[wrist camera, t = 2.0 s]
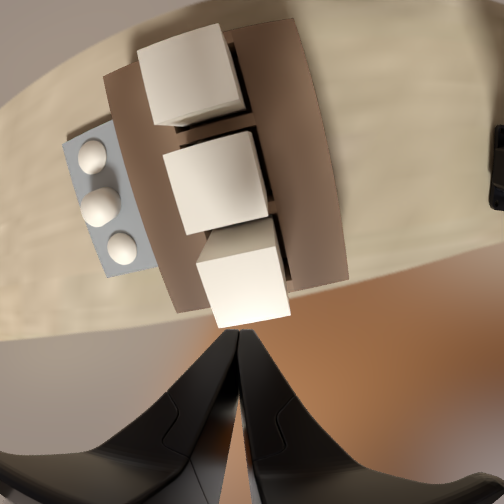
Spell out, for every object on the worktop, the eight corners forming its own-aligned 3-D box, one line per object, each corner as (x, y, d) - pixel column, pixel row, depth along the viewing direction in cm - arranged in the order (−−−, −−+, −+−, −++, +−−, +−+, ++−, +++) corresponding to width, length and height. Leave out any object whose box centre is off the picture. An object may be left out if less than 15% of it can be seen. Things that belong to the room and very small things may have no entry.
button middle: (252, 132, 15) (247, 131, 10) (266, 191, 16) (268, 216, 11) (192, 148, 15) (162, 155, 10) (208, 205, 16) (186, 235, 12)
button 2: (271, 213, 16) (275, 246, 12) (284, 266, 17) (290, 315, 13) (214, 226, 17) (195, 263, 12) (229, 277, 18) (218, 328, 13)
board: (287, 38, 14) (293, 18, 11) (335, 255, 19) (349, 279, 16) (129, 84, 16) (102, 76, 12) (189, 285, 21) (176, 313, 17)
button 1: (231, 55, 13) (218, 22, 8) (246, 110, 14) (239, 99, 10) (172, 72, 14) (136, 50, 9) (186, 127, 15) (154, 124, 10)
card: (118, 119, 16) (101, 118, 14) (162, 262, 20) (152, 276, 18) (66, 143, 17) (48, 146, 15) (110, 274, 21) (97, 288, 18)
